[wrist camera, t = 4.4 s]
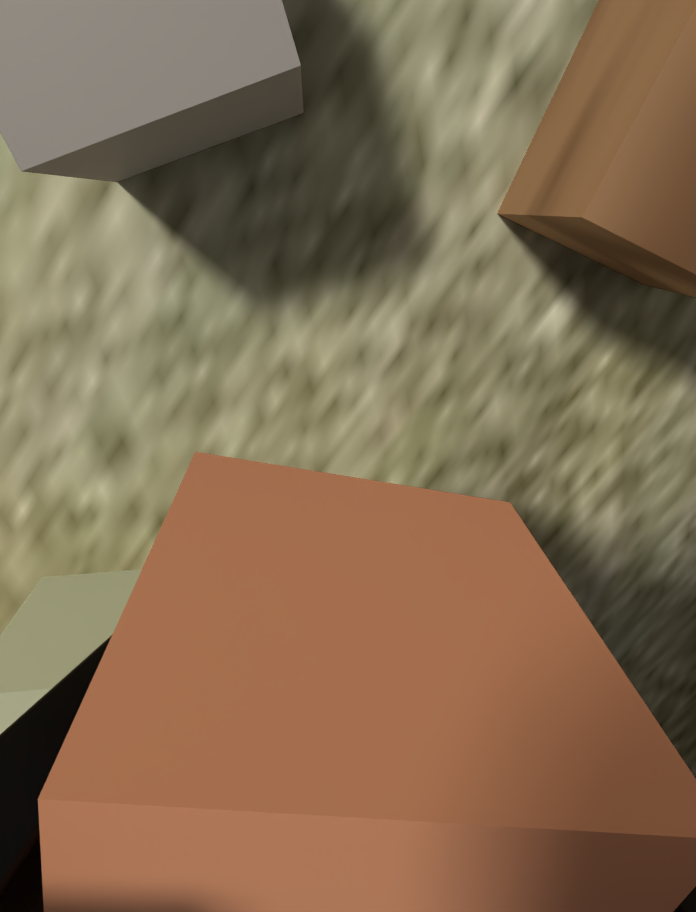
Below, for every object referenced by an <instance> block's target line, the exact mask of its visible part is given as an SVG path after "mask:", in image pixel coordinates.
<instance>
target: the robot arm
mask: <svg viewBox="0 0 696 912" xmlns="http://www.w3.org/2000/svg"><path fill="white" fill-rule="evenodd" d="M112 635H113V634H112ZM112 635H111V636H110V637H109V638H108V639H107V640H106V641H104V642H103V643H102V644H101V645H100V646H99V647H98V648H97V649H95V650H94V651H93V652H92V653H91V654H90V655H89V656H88V657H87V658H85V659H84V660H83V661H82V662H81V663H80V664H79V665H78V666H76V667H75V668H74V669H73V670H72V671H71V672H70V673H69V674H67V675H66V676H65V677H64V678H63V679H62V680H61V681H60V682H58V683H57V684H56V685H55V686H54V687H53V688H52V689H51V690H49V691H48V692H47V693H46V694H45V695H44V696H43V697H42V698H40V699H39V700H38V701H37V702H36V703H35V704H34V705H33V706H31V707H30V708H29V709H28V710H27V711H26V712H25V713H24V714H22V715H21V716H20V717H19V718H18V719H17V720H16V721H15V722H13V723H12V724H11V725H10V726H9V727H8V728H7V729H6V730H4V731H3V732H2V733H1V734H0V912H44V905H43V886H42V868H41V849H40V830H39V812H38V798H39V795H40V793H41V791H42V789H43V787H44V784H45V782H46V780H47V778H48V776H49V773H50V771H51V769H52V767H53V764H54V762H55V760H56V758H57V756H58V753H59V751H60V749H61V747H62V745H63V742H64V740H65V738H66V736H67V734H68V731H69V729H70V727H71V725H72V723H73V720H74V718H75V716H76V714H77V712H78V709H79V707H80V705H81V703H82V701H83V698H84V696H85V694H86V692H87V690H88V687H89V685H90V683H91V681H92V679H93V676H94V674H95V672H96V670H97V668H98V665H99V663H100V661H101V659H102V657H103V654H104V652H105V650H106V648H107V646H108V643H109V641H110V639H111V637H112ZM673 912H696V887H695V888H694V889H693V890H692V891H691V892H690V893H689V894H688V895H687V897H686V898H685V899H684V900H683V901H682V902H681V903H680V904H679V906H678V907H677V908H676V909H675V910H674V911H673Z"/></svg>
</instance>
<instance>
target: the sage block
mask: <svg viewBox="0 0 696 912" xmlns="http://www.w3.org/2000/svg"><path fill="white" fill-rule="evenodd" d="M141 571H142V569H140V570H127V571H114V572H102V573H89V574H76V575H63V576H51V577H42V578H41V579H40V580H39V582H38V583H37V585H36V586H35V588H34V589H33V590H32V592H31V593H30V595H29V596H28V597H27V599H26V600H25V602H24V603H23V604H22V606H21V607H20V609H19V610H18V611H17V613H16V614H15V616H14V617H13V618H12V620H11V621H10V623H9V624H8V625H7V627H6V628H5V630H4V631H3V632H2V634H1V635H0V734H1V733H2V732H3V731H4V730H6V729H7V728H8V727H9V726H10V725H11V724H12V723H13V722H15V721H16V720H17V719H18V718H19V717H20V716H21V715H22V714H24V713H25V712H26V711H27V710H28V709H29V708H30V707H31V706H33V705H34V704H35V703H36V702H37V701H38V700H39V699H40V698H42V697H43V696H44V695H45V694H46V693H47V692H48V691H49V690H51V689H52V688H53V687H54V686H55V685H56V684H57V683H58V682H60V681H61V680H62V679H63V678H64V677H65V676H66V675H67V674H69V673H70V672H71V671H72V670H73V669H74V668H75V667H76V666H78V665H79V664H80V663H81V662H82V661H83V660H84V659H85V658H87V657H88V656H89V655H90V654H91V653H92V652H93V651H94V650H95V649H97V648H98V647H99V646H100V645H101V644H102V643H103V642H104V641H106V640H107V639H108V638H109V637H110V636H111V635H112V634H113V632H114V630H115V628H116V626H117V624H118V621H119V619H120V617H121V615H122V612H123V610H124V608H125V606H126V604H127V601H128V599H129V597H130V595H131V593H132V590H133V588H134V586H135V584H136V582H137V579H138V577H139V575H140V573H141Z"/></svg>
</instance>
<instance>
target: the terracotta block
mask: <svg viewBox="0 0 696 912" xmlns="http://www.w3.org/2000/svg"><path fill="white" fill-rule="evenodd" d="M38 812H39V830H40V849H41V868H42V886H43V905H44V912H673V911H674V910H675V909H676V908H677V907H678V906H679V904H680V903H681V902H682V901H683V900H684V899H685V898H686V897H687V895H688V894H689V893H690V892H691V891H692V890H693V889H694V888H695V887H696V779H695V777H694V776H693V774H692V773H691V771H690V770H689V768H688V767H687V765H686V764H685V762H684V761H683V759H682V758H681V756H680V755H679V753H678V752H677V750H676V749H675V747H674V746H673V744H672V743H671V741H670V740H669V738H668V737H667V735H666V734H665V732H664V731H663V729H662V728H661V726H660V725H659V723H658V722H657V720H656V719H655V718H654V716H653V715H652V713H651V712H650V710H649V709H648V707H647V706H646V704H645V703H644V701H643V700H642V698H641V697H640V695H639V694H638V692H637V691H636V689H635V688H634V686H633V685H632V683H631V682H630V680H629V679H628V677H627V676H626V674H625V673H624V671H623V670H622V668H621V667H620V665H619V664H618V662H617V661H616V659H615V658H614V657H613V655H612V654H611V652H610V651H609V649H608V648H607V646H606V645H605V643H604V642H603V640H602V639H601V637H600V636H599V634H598V633H597V631H596V630H595V628H594V627H593V625H592V624H591V622H590V621H589V619H588V618H587V616H586V615H585V613H584V612H583V610H582V609H581V607H580V606H579V604H578V603H577V601H576V600H575V598H574V597H573V595H572V594H571V593H570V591H569V590H568V588H567V587H566V585H565V584H564V582H563V581H562V579H561V578H560V576H559V575H558V573H557V572H556V570H555V569H554V567H553V566H552V564H551V563H550V561H549V560H548V558H547V557H546V555H545V554H544V552H543V551H542V549H541V548H540V546H539V545H538V543H537V542H536V540H535V539H534V537H533V536H532V534H531V533H530V532H529V530H528V529H527V527H526V526H525V524H524V523H523V521H522V520H521V518H520V517H519V515H518V514H517V512H516V511H515V509H514V508H513V506H512V505H511V503H510V502H504V501H498V500H492V499H485V498H479V497H473V496H467V495H460V494H454V493H448V492H442V491H436V490H429V489H423V488H417V487H411V486H404V485H398V484H392V483H386V482H379V481H373V480H367V479H361V478H354V477H348V476H342V475H336V474H329V473H323V472H317V471H311V470H304V469H298V468H292V467H286V466H280V465H273V464H267V463H261V462H255V461H248V460H242V459H236V458H230V457H223V456H217V455H211V454H205V453H198V452H195V454H194V456H193V458H192V460H191V463H190V465H189V467H188V469H187V471H186V474H185V476H184V478H183V480H182V483H181V485H180V487H179V489H178V491H177V494H176V496H175V498H174V500H173V502H172V505H171V507H170V509H169V511H168V513H167V516H166V518H165V520H164V522H163V524H162V527H161V529H160V531H159V533H158V535H157V538H156V540H155V542H154V544H153V546H152V549H151V551H150V553H149V555H148V557H147V560H146V562H145V564H144V566H143V568H142V571H141V573H140V575H139V577H138V579H137V582H136V584H135V586H134V588H133V590H132V593H131V595H130V597H129V599H128V601H127V604H126V606H125V608H124V610H123V612H122V615H121V617H120V619H119V621H118V624H117V626H116V628H115V630H114V632H113V635H112V637H111V639H110V641H109V643H108V646H107V648H106V650H105V652H104V654H103V657H102V659H101V661H100V663H99V665H98V668H97V670H96V672H95V674H94V676H93V679H92V681H91V683H90V685H89V687H88V690H87V692H86V694H85V696H84V698H83V701H82V703H81V705H80V707H79V709H78V712H77V714H76V716H75V718H74V720H73V723H72V725H71V727H70V729H69V731H68V734H67V736H66V738H65V740H64V742H63V745H62V747H61V749H60V751H59V753H58V756H57V758H56V760H55V762H54V764H53V767H52V769H51V771H50V773H49V776H48V778H47V780H46V782H45V784H44V787H43V789H42V791H41V793H40V795H39V798H38Z"/></svg>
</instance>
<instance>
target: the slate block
mask: <svg viewBox="0 0 696 912" xmlns="http://www.w3.org/2000/svg"><path fill="white" fill-rule="evenodd" d="M302 113H304V112H303V94H302V76H301V64H300V61H299V57H298V54H297V50H296V47H295V44H294V40H293V37H292V33H291V30H290V26H289V23H288V20H287V16H286V13H285V9H284V6H283V2H282V0H0V132H1V134H2V136H3V138H4V140H5V142H6V144H7V146H8V148H9V149H10V151H11V153H12V155H13V157H14V159H15V161H16V163H17V165H18V167H19V168H20V170H21V171H23V172H32V173H41V174H50V175H59V176H67V177H76V178H85V179H94V180H103V181H112V182H119V181H121V180H124V179H127V178H130V177H132V176H135V175H138V174H140V173H143V172H146V171H148V170H151V169H154V168H157V167H159V166H162V165H165V164H167V163H170V162H173V161H175V160H178V159H181V158H183V157H186V156H189V155H192V154H194V153H197V152H200V151H202V150H205V149H208V148H210V147H213V146H216V145H218V144H221V143H224V142H227V141H229V140H232V139H235V138H237V137H240V136H243V135H245V134H248V133H251V132H254V131H256V130H259V129H262V128H264V127H267V126H270V125H272V124H275V123H278V122H280V121H283V120H286V119H289V118H291V117H294V116H297V115H299V114H302Z"/></svg>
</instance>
